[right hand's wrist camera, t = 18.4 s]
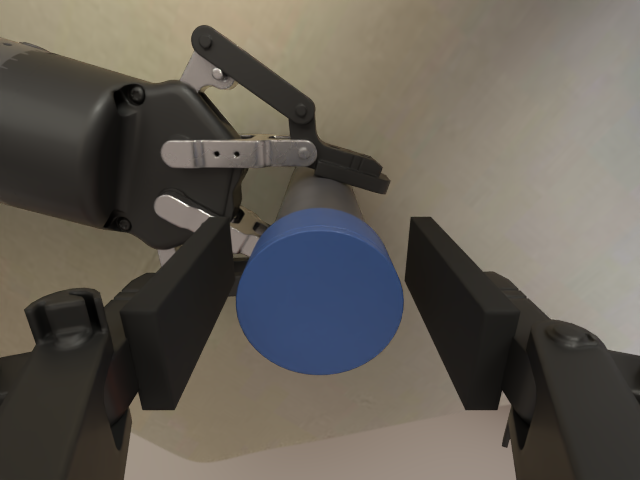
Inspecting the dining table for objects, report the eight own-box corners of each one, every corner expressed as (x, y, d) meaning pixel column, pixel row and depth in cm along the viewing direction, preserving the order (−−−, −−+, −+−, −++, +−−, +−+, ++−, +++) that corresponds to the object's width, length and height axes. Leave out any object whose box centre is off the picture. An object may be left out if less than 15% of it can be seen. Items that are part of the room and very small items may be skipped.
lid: (220, 273, 12) (200, 306, 10) (322, 176, 11) (322, 192, 9) (317, 356, 13) (317, 400, 11) (418, 277, 12) (437, 311, 10)
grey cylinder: (351, 206, 26) (391, 342, 11) (296, 214, 26) (266, 357, 12) (344, 150, 24) (381, 223, 10) (286, 159, 25) (239, 242, 10)
